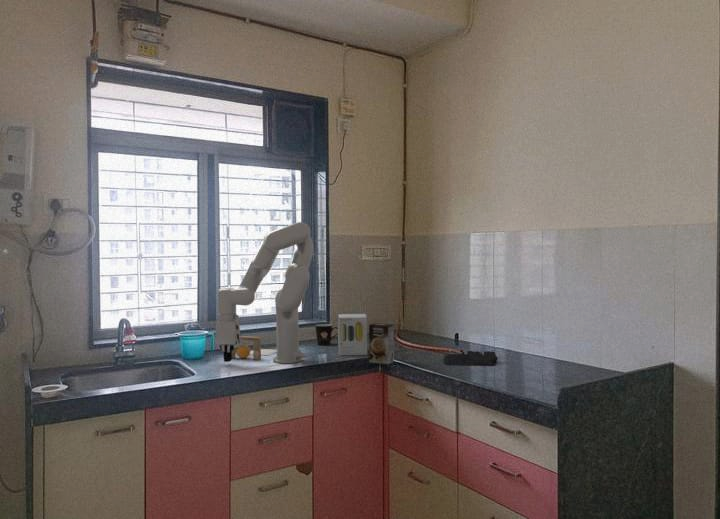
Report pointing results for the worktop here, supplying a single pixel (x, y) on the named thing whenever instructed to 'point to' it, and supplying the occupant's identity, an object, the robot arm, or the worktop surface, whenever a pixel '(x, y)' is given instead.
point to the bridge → (255, 347)
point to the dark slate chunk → (471, 359)
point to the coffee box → (381, 343)
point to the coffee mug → (324, 334)
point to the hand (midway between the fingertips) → (227, 361)
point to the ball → (243, 351)
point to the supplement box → (352, 334)
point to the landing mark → (265, 352)
